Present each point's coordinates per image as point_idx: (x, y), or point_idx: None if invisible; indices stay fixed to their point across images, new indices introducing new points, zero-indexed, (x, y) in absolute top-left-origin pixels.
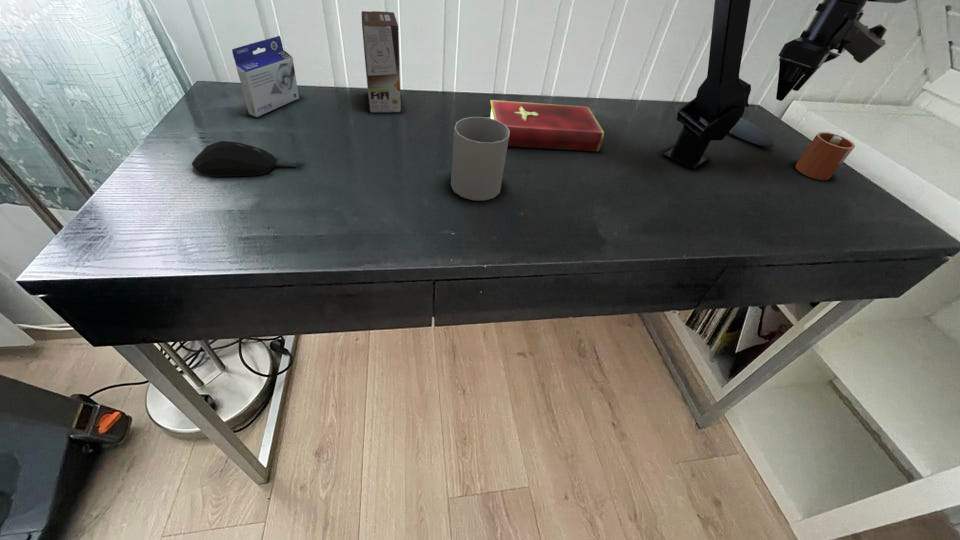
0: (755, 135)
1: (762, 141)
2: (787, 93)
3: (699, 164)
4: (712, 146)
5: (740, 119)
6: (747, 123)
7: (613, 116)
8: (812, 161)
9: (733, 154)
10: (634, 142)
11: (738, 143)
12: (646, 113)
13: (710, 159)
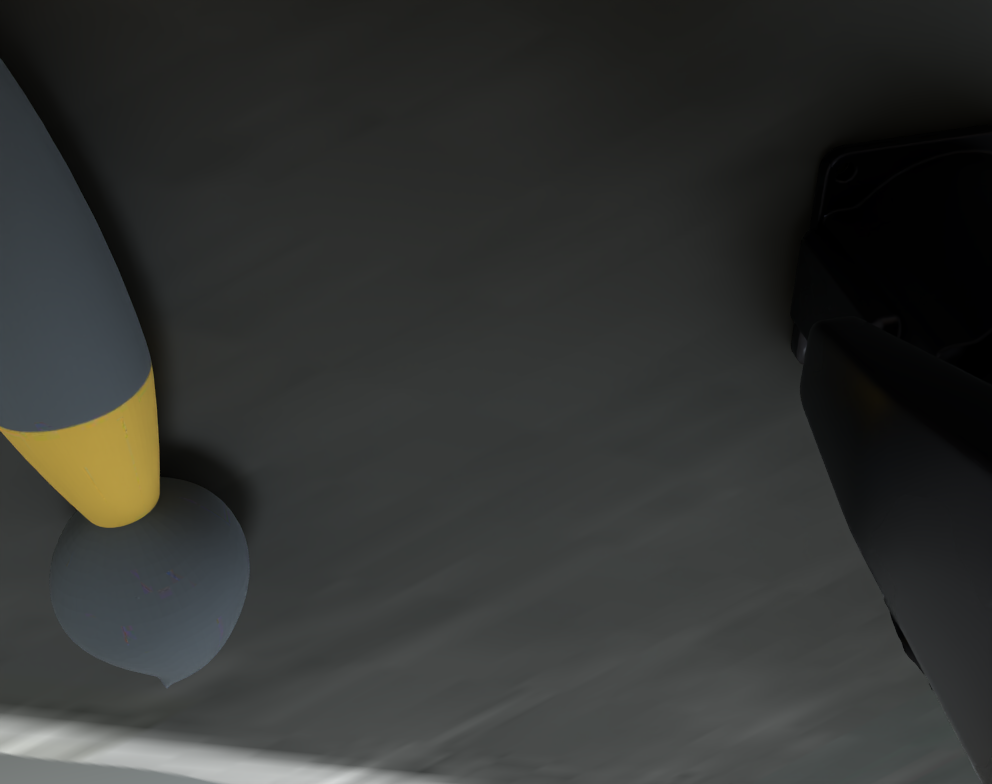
0: (50, 189)
1: (10, 87)
2: (982, 388)
3: (971, 132)
4: (502, 267)
5: (76, 420)
6: (51, 351)
7: (717, 681)
8: None
9: (458, 103)
10: None
11: (185, 204)
12: (488, 671)
13: (750, 147)
